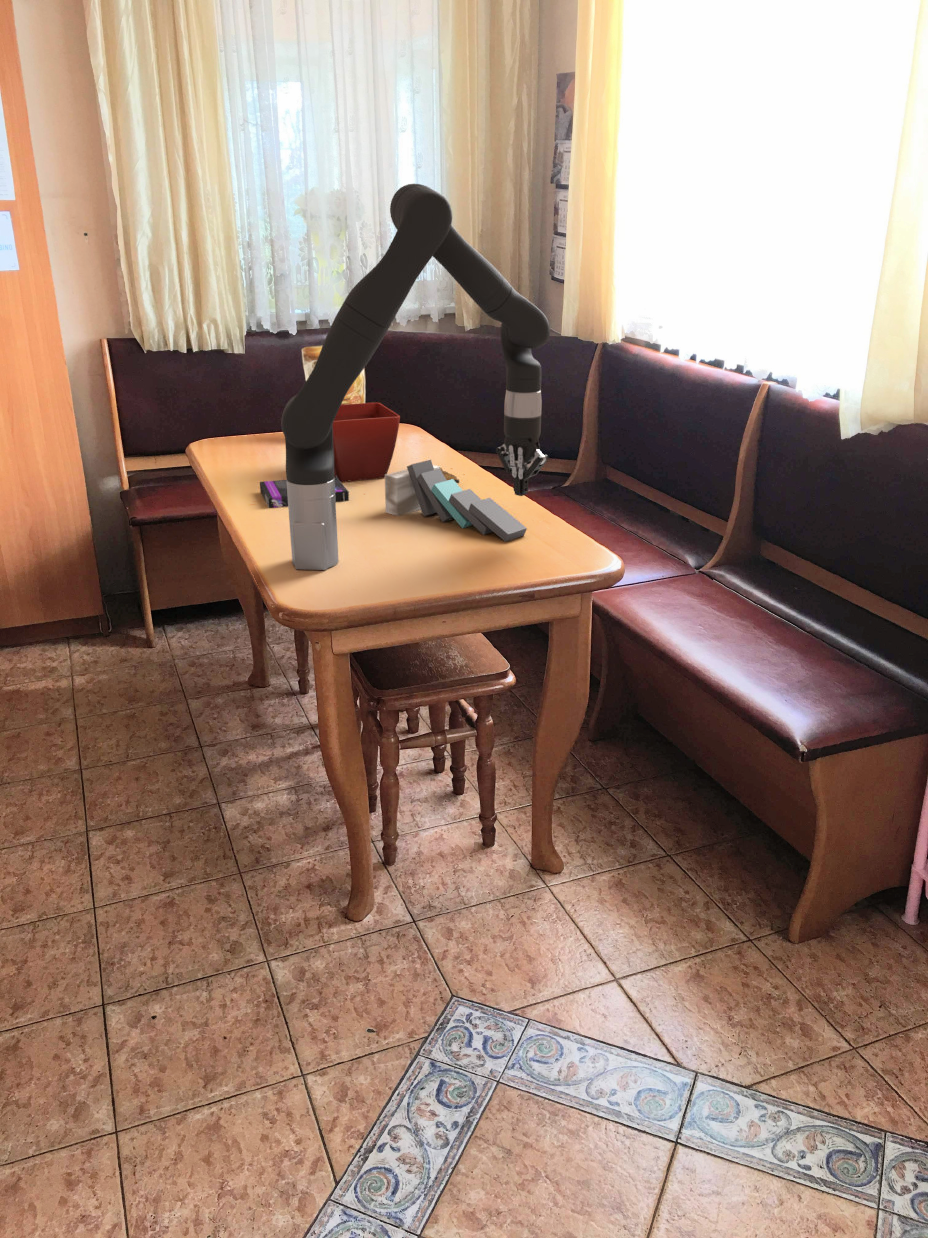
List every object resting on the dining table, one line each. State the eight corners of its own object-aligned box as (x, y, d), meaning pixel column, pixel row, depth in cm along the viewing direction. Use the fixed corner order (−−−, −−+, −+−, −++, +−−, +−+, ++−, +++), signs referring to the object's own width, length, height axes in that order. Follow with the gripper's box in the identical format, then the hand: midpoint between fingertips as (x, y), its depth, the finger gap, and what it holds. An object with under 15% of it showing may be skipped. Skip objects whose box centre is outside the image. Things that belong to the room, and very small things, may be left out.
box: (268, 512, 228) (349, 502, 234) (267, 497, 227) (348, 488, 232) (260, 495, 240) (338, 487, 246) (259, 481, 239) (337, 473, 244)
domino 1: (447, 508, 225) (430, 459, 224) (428, 514, 221) (412, 464, 220) (442, 510, 226) (425, 461, 226) (423, 516, 222) (406, 466, 222)
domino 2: (465, 512, 221) (439, 468, 223) (447, 517, 217) (420, 473, 219) (461, 516, 223) (435, 473, 224) (442, 522, 219) (416, 478, 220)
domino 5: (526, 528, 209) (489, 497, 214) (508, 534, 205) (470, 502, 210) (524, 535, 210) (487, 504, 216) (505, 541, 206) (468, 510, 212)
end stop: (440, 503, 232) (440, 466, 228) (397, 516, 223) (396, 477, 219) (428, 500, 234) (428, 463, 231) (385, 512, 225) (384, 474, 222)
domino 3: (462, 528, 215) (430, 490, 218) (480, 522, 219) (449, 485, 222) (466, 522, 213) (434, 484, 217) (484, 516, 217) (452, 478, 221)
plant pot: (402, 480, 251) (401, 415, 244) (330, 487, 244) (327, 421, 238) (380, 462, 267) (379, 401, 260) (313, 469, 261) (309, 406, 254)
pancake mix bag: (304, 441, 290) (298, 345, 279) (365, 436, 296) (362, 342, 285) (309, 446, 284) (303, 348, 273) (371, 441, 291) (368, 345, 279)
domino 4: (505, 521, 213) (470, 488, 218) (486, 528, 209) (451, 494, 214) (501, 528, 215) (467, 495, 219) (483, 534, 211) (448, 500, 215)
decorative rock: (401, 481, 252) (425, 498, 240) (400, 466, 250) (424, 482, 238) (440, 474, 256) (466, 490, 244) (439, 459, 255) (465, 474, 243)
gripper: (559, 414, 195) (556, 497, 202) (510, 405, 203) (508, 485, 210) (536, 419, 190) (533, 504, 197) (486, 410, 198) (485, 492, 205)
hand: (520, 494), depth 204 cm, fingers closed
